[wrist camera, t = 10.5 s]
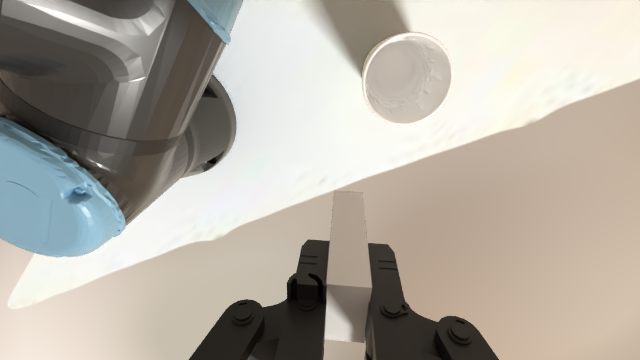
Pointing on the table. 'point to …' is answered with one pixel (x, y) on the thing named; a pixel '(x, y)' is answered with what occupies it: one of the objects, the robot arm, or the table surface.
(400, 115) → the white cup
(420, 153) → the table surface
